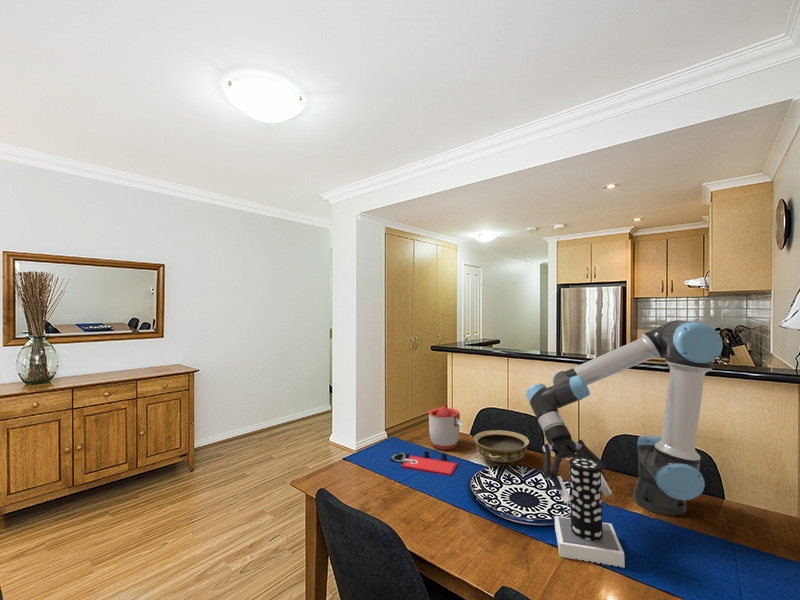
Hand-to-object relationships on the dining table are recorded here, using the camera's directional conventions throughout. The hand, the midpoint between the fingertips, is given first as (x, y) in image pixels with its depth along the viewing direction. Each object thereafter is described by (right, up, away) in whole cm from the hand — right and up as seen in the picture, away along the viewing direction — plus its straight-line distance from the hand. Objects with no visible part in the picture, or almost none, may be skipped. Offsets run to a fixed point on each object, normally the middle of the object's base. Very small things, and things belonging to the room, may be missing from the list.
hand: (588, 498), depth 107 cm
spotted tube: (0, -11, +1) cm, 11 cm away
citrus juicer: (-31, -16, +78) cm, 86 cm away
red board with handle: (-44, -17, +59) cm, 76 cm away
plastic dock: (0, -15, +1) cm, 15 cm away
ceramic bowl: (-9, -15, +60) cm, 62 cm away
